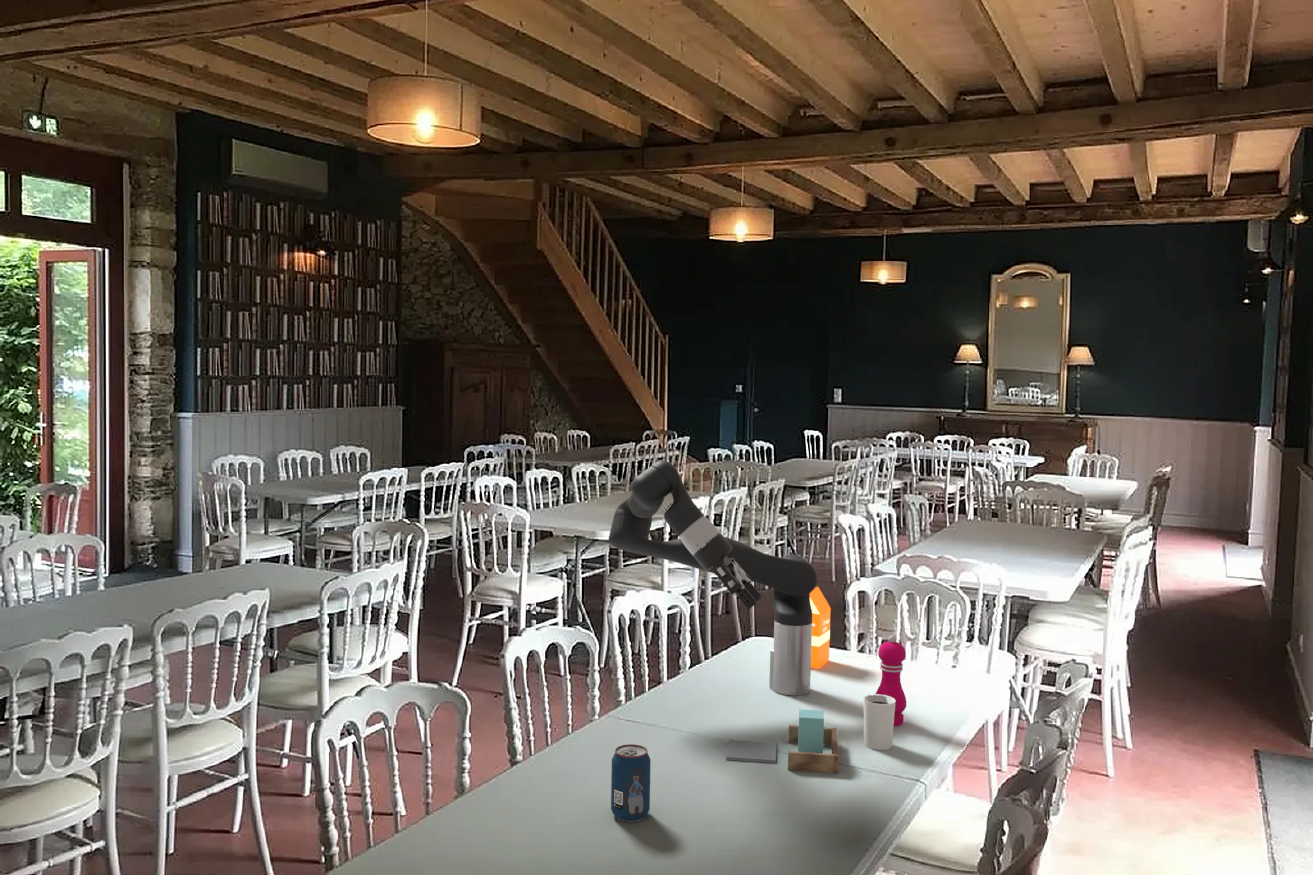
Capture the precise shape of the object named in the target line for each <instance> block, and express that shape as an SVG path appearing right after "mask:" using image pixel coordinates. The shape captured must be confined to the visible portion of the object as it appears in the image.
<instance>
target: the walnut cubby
mask: <svg viewBox="0 0 1313 875" xmlns="http://www.w3.org/2000/svg"><path fill="white" fill-rule="evenodd" d="M837 731H838V730H837V727H827V726H826V727H825V726H824V735H823V746H830V747H831V748H830V749H831V753H828V752H827V753H824V752H823V753H812V752H798V750H797V751H796V750H795V751H794V750H788V751H787V752H788V755H787V770H788V771H800V772H802V771H803V772H812V773H814V772H815V773H828V774H829V773H831V774H839V770H840V753H839V752H840V751H839V742H838V732H837ZM798 732H799V725H794V724H789V725H788V744H798Z"/></svg>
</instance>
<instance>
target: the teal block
mask: <svg viewBox="0 0 1313 875" xmlns="http://www.w3.org/2000/svg"><path fill="white" fill-rule="evenodd" d="M798 726H799V732H798V743H797V752H812V753H824V745H823V735H824V727H825V713H824V710H816V709H815V710H814V709H800V708H799V710H798Z"/></svg>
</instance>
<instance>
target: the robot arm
mask: <svg viewBox="0 0 1313 875" xmlns="http://www.w3.org/2000/svg"><path fill="white" fill-rule="evenodd" d="M630 490H631V494H630V496H629V497H628V498H626V499H625V500H623V501H622V502H621V503H620V504H619V505H618V506H617V507H616V509H615V511H614V515H613V518H612V523H611V527H610V531H609V533H608V534H609V536H608V542H609V543H610V545H611V546H612V547H615V548H616V549H618V550H622V551H625V552H629V553H634V554H636V555H642V556H648V557H652V558H657V559H661V560H666V561H670V562H674V563H678V564H681V565H683V566H686V567H687V566H688V567H690V568H693V569H698V570H700V571H704V572H707V573H710V574H711V573H712V574H713V575H716V576H717V578H718V579H719V581H720V582H721V583H722V584H723V586H725V588H726V589H727V591H729V593H730V594H731V595H733V596H737V597H738V599H739V600H740V601H741V602H742V604H743V605H744V606H745V607H746V608H747V609H748V610H750V609H751V608H753V607H754V606H755V605H756V604H757V602H758V601H759V600H761V598H762V594H761V593H760V592H759V590H758V589H757V588H756V587H755V586H754V585H753V583H757V584H760V585H763V586H765V587H768V588H771V589H772V608H773V612H774V616H773V617H774V618H773V619H774V626H773V648H772V649H770V654H769V688H771V689H772V690H773V691H774V692H776V693H777V694H780V695H787V696H802V695H807V694H808V693H809V692H811V677H812V676H811V675H812V668H811V646H812V609H811V605H810V593H811V592H812V591H813V590H814V589H815V588H816V587H817V585H818V576H817V571H816V570H815V568H814V567H813V564H811V563H810V562H808V560H806V558H804V557H803V556H800V555H798V554H794V553H793V554H791V553H790V554H786V555H784V556H782V557H779V556H775V555H771V554H768V553H764V552H762V551H760V550H758V549H755V548H753V547H752V546H749V545H748V544H745V543H742V542H740V541H738V540H735V539H732V538H729V537H728V536H725V535H723V534H722V533H721V532H720V530H719V529H718V528H717V526H715V525H714V523H713V522H712V521H711V520H710V519H708V518H707V516H705V515H704V514H703V512H702V511H701V510H700V509H699V507H698V506H697V505H696V504H695V503H694V501H693V500H692V498H691V497H690V494H689V493H688V491H687V489H686V487H685V485H684V483H683V481H682V478H681V475H680V474H679V472H678V469H677V468H676V467H675V465H674V464H672V463H671V462H669V461H667V460H663V459H661V460H657V461H656V462H654V463H653V464H651V465H650V466H649V467H648V468H647V469H645V470H644V471H642V472H641V473H640V474H638V475H637V476H636V477H635V478H634V479H633V480H632V481H631V483H630ZM669 494H670V495H671V496H672V499H673V500H672V501H673V502H672V503H671V505H670V506H669V507H668V509H666V511H665V512H664V515H663V519H664V521H665V522H666V523H667V525H668V526H669V527H670V528H671V529H672V531H673V532H675V534H676V535H677V536H678V537H679V538H676V539H673V540H666V541H665V540H664V541H662V540H661V541H659V540H653V539H649V535H650V532H651V531H650V530H651V528H652V523H653V522H652V521H653V516H654V515H655V514H657V513H658V511H659V510H660V508H661V507H662V504H663V503H664V501H665V498H666V496H668V495H669Z"/></svg>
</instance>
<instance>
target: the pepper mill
mask: <svg viewBox="0 0 1313 875" xmlns="http://www.w3.org/2000/svg"><path fill="white" fill-rule="evenodd" d="M877 654H878V658H879V659H880V660H881V662H880V663H879V665H880V667H879V668H880V670H881V681H880V684H879V686H878V688H877V690H876V692H875V694H880V695H886V696H890V697H892V698H894V699H895V700H896V702H895V714H894V726H893V727H899V726H902V725H903V724H904V719H905V718H904V717H905V716H904V714H903V712H904V711H905V710H906V708H907V698H906V695H905V692H904V690H903V687H902V683H901V673H902V672H903V670H904V668H903V666H904V664H903V661H905V659H906V656H907V654H906V649H905V647H904V646H903V645H902V644H901V643H900V642H898V641H897V637H896V635H894V634H891V635H889V636H888V641H885V642H883V643H882V644H881V645H880V646H879V648H878V653H877Z"/></svg>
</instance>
